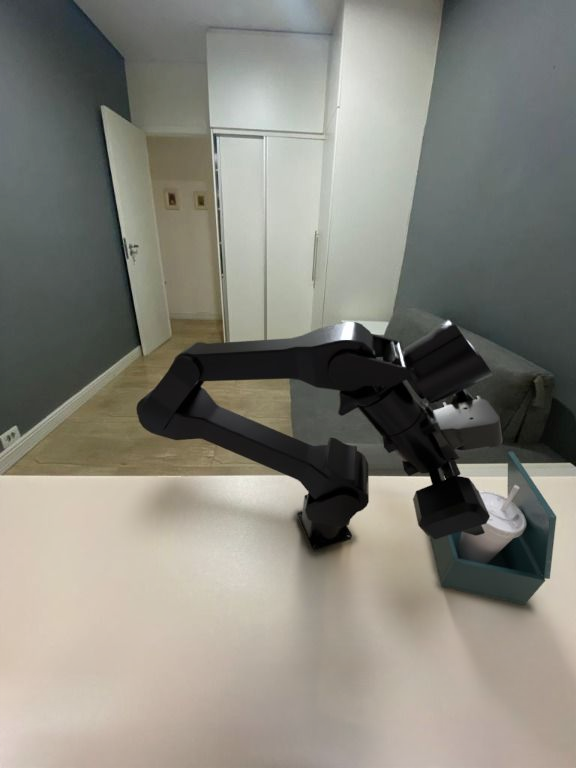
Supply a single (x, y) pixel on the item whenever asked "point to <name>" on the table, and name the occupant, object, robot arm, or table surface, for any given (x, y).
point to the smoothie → (493, 528)
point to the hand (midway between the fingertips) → (467, 501)
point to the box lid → (533, 515)
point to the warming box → (489, 570)
